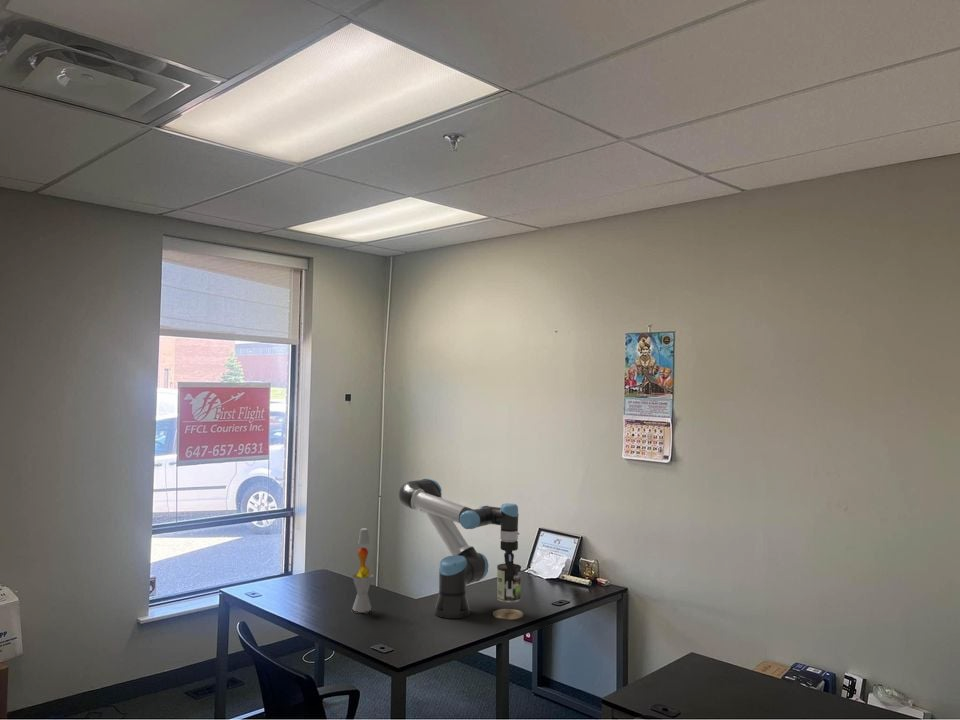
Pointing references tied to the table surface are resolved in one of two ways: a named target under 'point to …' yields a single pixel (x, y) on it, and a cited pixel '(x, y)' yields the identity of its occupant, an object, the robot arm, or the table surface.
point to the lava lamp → (362, 576)
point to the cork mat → (508, 614)
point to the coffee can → (502, 583)
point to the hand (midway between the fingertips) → (508, 592)
